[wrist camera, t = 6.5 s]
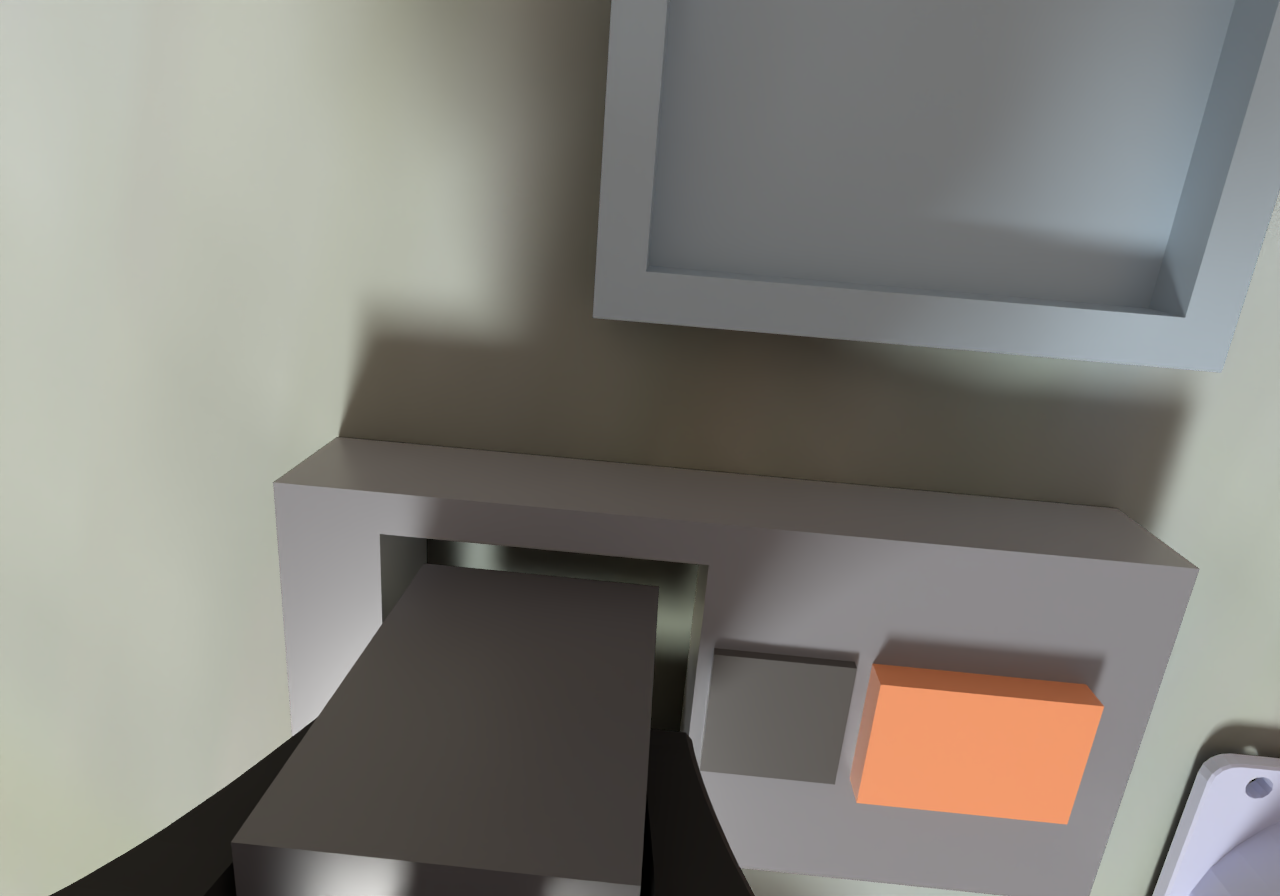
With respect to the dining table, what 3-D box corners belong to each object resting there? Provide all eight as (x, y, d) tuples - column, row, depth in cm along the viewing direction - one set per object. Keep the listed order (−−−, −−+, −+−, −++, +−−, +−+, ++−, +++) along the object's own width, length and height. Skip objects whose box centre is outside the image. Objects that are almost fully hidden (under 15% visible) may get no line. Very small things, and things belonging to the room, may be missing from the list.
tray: (1372, -365, 11) (1484, -455, 9) (1163, 352, 14) (1221, 372, 12) (647, -410, 11) (640, -506, 10) (602, 304, 14) (592, 317, 13)
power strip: (1117, 508, 15) (1224, 586, 12) (1030, 805, 17) (1102, 932, 14) (337, 437, 15) (254, 496, 12) (350, 735, 17) (283, 846, 15)
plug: (659, 586, 13) (626, 1121, 6) (639, 779, 14) (591, 1428, 7) (423, 563, 13) (81, 1057, 6) (425, 757, 15) (145, 1373, 7)
